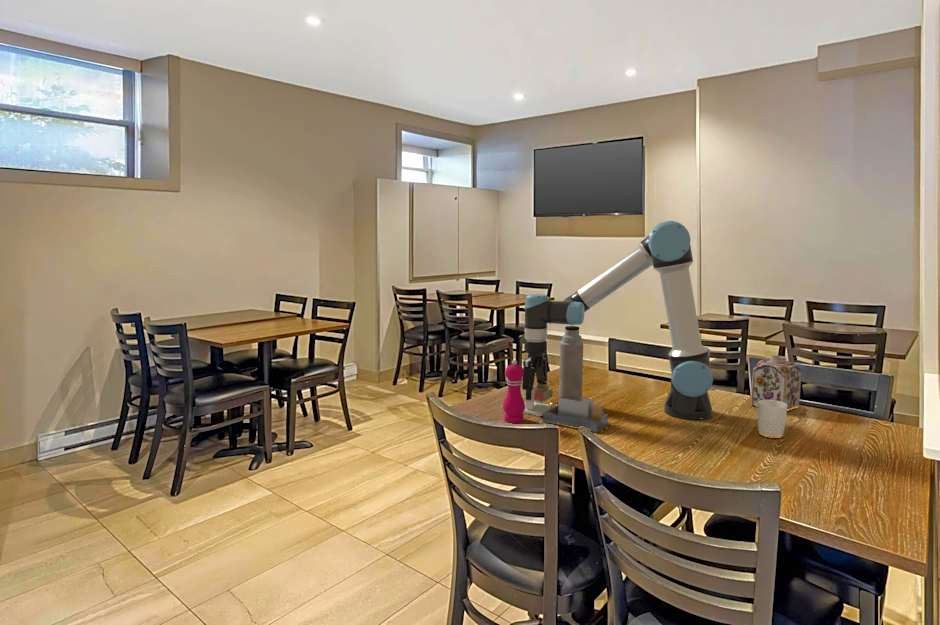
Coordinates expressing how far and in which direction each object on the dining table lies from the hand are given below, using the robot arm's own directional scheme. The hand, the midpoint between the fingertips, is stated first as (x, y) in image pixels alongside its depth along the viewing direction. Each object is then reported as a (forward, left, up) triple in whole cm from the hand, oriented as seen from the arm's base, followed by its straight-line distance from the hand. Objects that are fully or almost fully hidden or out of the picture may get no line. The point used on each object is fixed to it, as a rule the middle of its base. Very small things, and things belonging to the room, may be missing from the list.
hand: (534, 405), depth 202 cm
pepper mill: (+1, +13, -2) cm, 13 cm away
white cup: (-71, -16, -2) cm, 73 cm away
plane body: (-17, +5, -2) cm, 18 cm away
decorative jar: (-69, -48, -2) cm, 84 cm away
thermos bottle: (-8, -12, -2) cm, 14 cm away
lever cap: (0, 0, +3) cm, 3 cm away
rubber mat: (0, 0, -2) cm, 2 cm away
